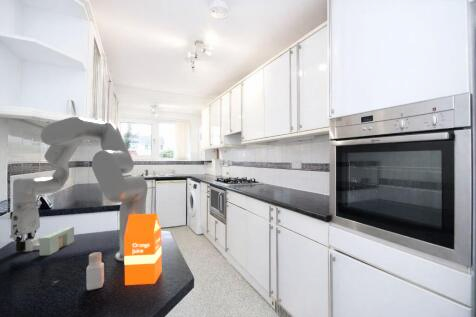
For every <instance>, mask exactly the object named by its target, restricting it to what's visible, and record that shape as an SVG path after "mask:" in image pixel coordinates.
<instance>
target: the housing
mask: <svg viewBox="0 0 476 317" xmlns="http://www.w3.org/2000/svg"><path fill="white" fill-rule="evenodd" d="M58 237H63V247H64V246H69V245H71V244H73V243H75V227H74V226H65V227H62V228H60V229H58V230H55V231H54V232H51V233H49V234H47V235H44V236H43V235H42V236H41V237H38V238H39V248H40V250H39V256H52V254H55V253H56V252H58V251H59V250H60V248H59V245H58Z"/></svg>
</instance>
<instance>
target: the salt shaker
mask: <svg viewBox="0 0 476 317" xmlns="http://www.w3.org/2000/svg"><path fill="white" fill-rule="evenodd" d="M102 257H103V256H102V252H100V251H97V252H92V253H90V254H89V255H88V265H87V267H86V274H85V276H86V279H85V280H86V290H87V291H92V290H96V289H101V288H102V287H103V285H104V283H105V263H104V262H102Z"/></svg>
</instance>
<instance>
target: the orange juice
mask: <svg viewBox="0 0 476 317" xmlns="http://www.w3.org/2000/svg"><path fill="white" fill-rule="evenodd" d="M124 250H125V256H124V261H123V263H124V285H125V286H132V285H133V286H135V285H149V284H150V285H151V284H152V285H153V284H156V282H157V281H158V279H159V277H160V276H161V274H162V271H163V270H162V269H163V268H162V261H163V260H162V254H163V253H162V227H161V224H160V221H159V217H158V213H146V214H132V215H129V218H128V222H127V227H126V231H125V235H124Z"/></svg>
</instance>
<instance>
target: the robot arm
mask: <svg viewBox="0 0 476 317" xmlns="http://www.w3.org/2000/svg"><path fill="white" fill-rule="evenodd" d="M120 131H121V130H120V128H119V127H118V126H117V125H115V124H114V123H113V122H108V121H99V120H94V119H89V118H85V117H79V116H72V117H67V118H64V119H60V120H57V121H53V122H52V123H49V124H47V125H46V126H44V127H43V128H42V130H41V132H40V139H41V141H42V142H43V143H44V144H46V146H47V145H48V146H49V147H48V148H47V150H46V152H45V153H44V157H43V158H44V159H45V161H46V162H48V163H50V164H51V165H52V166H55V167H56V169H55V170H54V172H53V174H52V175H51V176H42V177H41V176H40V177H26V178H16V179H14V180H13V181H12V214H11V221H10V235H9V238H10V239H11V240H13V241H14V243H15V251H16V252H22V251H23V252H26V251H25V240H27V239H32V238H36V233H37V232H38V230H39V229H40V227H41V222H40V221H41V220H40V213H39V210H38V209H39V208H38V207H37V199H38V198H37V196H42V195H47V194H48V195H49V194H54V193H58V192H59V191H61V190H62V188H63V187H64V185H65V184H66V183H67V181H68V180H69V176H70V168H69V167H70V166H69V165H68V164H69V162H70V160H71V158H72V157H73V156H74V154H75V152H76V150H77V149H78V147H79V145H81V142H82V141H92V142H100V148H101V150H99V151H97V152H96V153H95V154H94V155H93V157H92V161H91V168H92V171H93V175H94V176H95V178H96V180H97V183H98V185H99V187H100V189H101V190H100V191H101V192H102V194H103V196H104V197H105V198H106V200H108V201H109V202H111V203H115V204H117V203H118V204H119V203H120V207H119V217H118V218H119V251H118V252H117V253H115V255H114V256H115V259H116V261H120V262H124V256H125V250H124V235H125V231H126V227H127V222H128V218H129V215H132V214H147V212H146V211H147V195H148V190H149V189H148V182H147V181H146V179H145V178H144V177H143V176H141V175H138V174H128V173H131V172H132V171H133V169H134V165H135V164H134V160H133V158H132V156H131V153H130V152H129V150H128V148H127V145H126V143H125V141H124V139H123V137H122V134H121V132H120ZM127 174H128V175H127Z"/></svg>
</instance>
